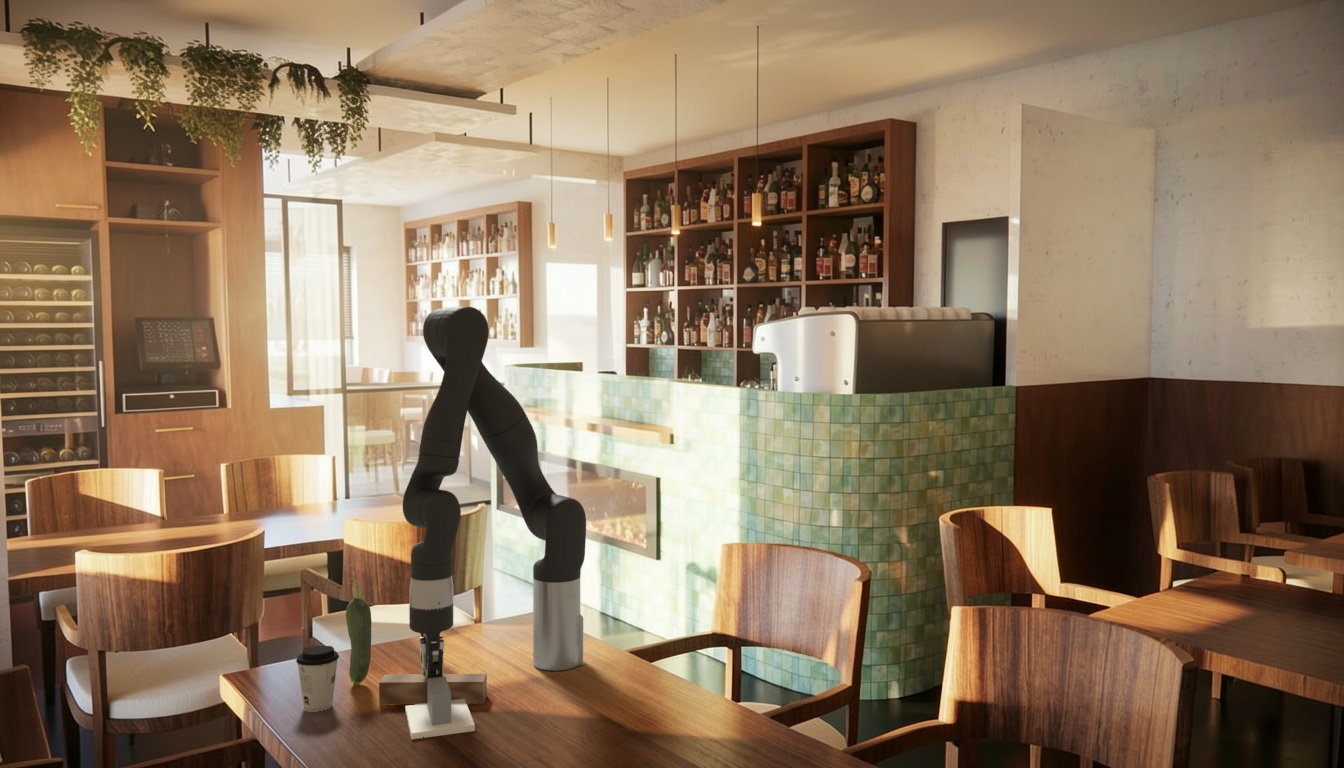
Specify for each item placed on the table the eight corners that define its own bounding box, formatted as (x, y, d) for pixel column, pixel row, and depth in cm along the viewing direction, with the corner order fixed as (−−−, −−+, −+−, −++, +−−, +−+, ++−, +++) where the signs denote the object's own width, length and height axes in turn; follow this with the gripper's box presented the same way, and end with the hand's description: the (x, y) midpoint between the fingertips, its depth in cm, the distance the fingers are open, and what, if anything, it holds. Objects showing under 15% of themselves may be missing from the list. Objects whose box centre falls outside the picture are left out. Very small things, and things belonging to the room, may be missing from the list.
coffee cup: (298, 717, 159) (298, 659, 159) (294, 703, 166) (293, 647, 165) (342, 710, 163) (341, 653, 162) (336, 696, 169) (335, 641, 168)
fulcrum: (464, 704, 166) (464, 670, 165) (474, 730, 155) (474, 694, 154) (405, 711, 162) (405, 676, 162) (411, 739, 151) (411, 702, 151)
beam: (486, 695, 170) (486, 673, 170) (483, 704, 166) (483, 681, 166) (385, 696, 169) (385, 674, 169) (379, 705, 165) (379, 682, 165)
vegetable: (375, 682, 176) (374, 575, 175) (365, 690, 172) (364, 581, 171) (352, 681, 176) (351, 574, 175) (342, 689, 172) (341, 580, 171)
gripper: (458, 610, 161) (458, 709, 162) (448, 589, 175) (448, 680, 176) (412, 614, 159) (413, 714, 160) (406, 592, 172) (406, 685, 173)
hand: (431, 696), depth 168 cm, fingers closed on beam, 5 cm apart
